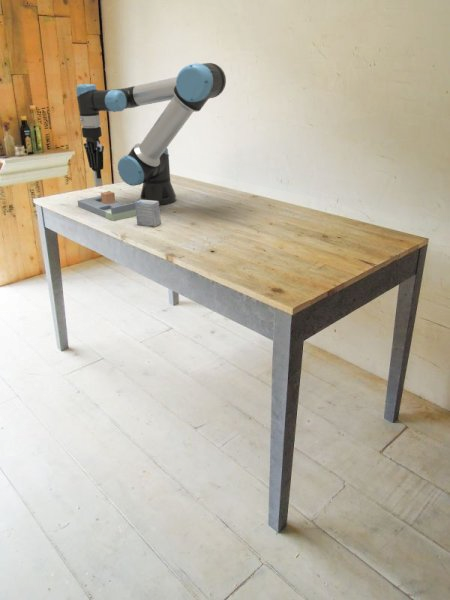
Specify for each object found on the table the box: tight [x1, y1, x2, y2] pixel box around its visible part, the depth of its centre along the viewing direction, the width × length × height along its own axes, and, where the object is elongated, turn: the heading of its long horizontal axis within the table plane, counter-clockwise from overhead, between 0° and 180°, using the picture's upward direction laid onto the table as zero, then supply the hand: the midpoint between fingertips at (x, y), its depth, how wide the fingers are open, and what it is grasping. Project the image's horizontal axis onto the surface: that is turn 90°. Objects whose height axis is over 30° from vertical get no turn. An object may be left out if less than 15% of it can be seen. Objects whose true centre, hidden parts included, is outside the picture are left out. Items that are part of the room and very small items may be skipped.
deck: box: [77, 195, 136, 222], centre depth 204 cm, size 30×11×5 cm, turn 41°
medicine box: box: [135, 199, 162, 227], centre depth 184 cm, size 8×4×9 cm, turn 65°
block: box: [100, 190, 116, 204], centre depth 206 cm, size 4×4×4 cm
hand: (98, 185), depth 209 cm, fingers closed
